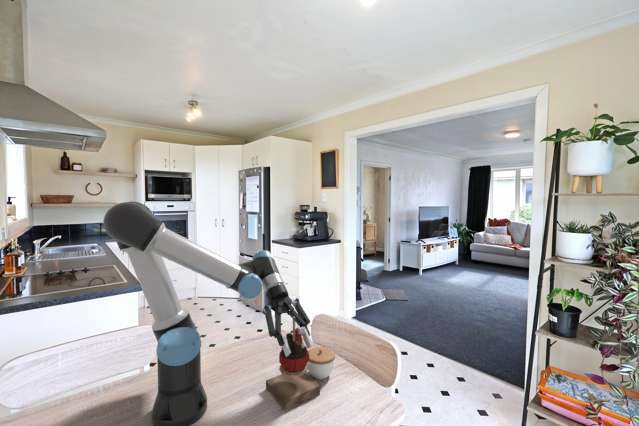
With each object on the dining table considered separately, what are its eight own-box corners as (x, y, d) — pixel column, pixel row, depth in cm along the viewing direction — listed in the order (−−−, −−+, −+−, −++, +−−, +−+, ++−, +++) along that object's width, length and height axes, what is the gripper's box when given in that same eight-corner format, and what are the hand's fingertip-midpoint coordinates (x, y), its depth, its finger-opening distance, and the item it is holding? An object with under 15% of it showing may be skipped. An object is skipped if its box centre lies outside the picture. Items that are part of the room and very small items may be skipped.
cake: (275, 365, 103) (275, 314, 102) (300, 359, 107) (300, 309, 106) (286, 383, 93) (286, 325, 92) (313, 374, 97) (313, 320, 97)
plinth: (285, 410, 91) (285, 401, 91) (265, 389, 101) (265, 380, 101) (319, 394, 99) (320, 385, 99) (298, 375, 109) (298, 367, 109)
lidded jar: (335, 367, 115) (335, 343, 114) (334, 384, 104) (334, 357, 104) (307, 365, 116) (308, 341, 115) (303, 382, 105) (303, 356, 105)
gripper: (294, 289, 117) (320, 346, 105) (245, 300, 105) (267, 365, 93) (302, 278, 113) (329, 336, 101) (251, 288, 100) (275, 356, 88)
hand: (299, 350), depth 97 cm, fingers closed on cake, 8 cm apart
